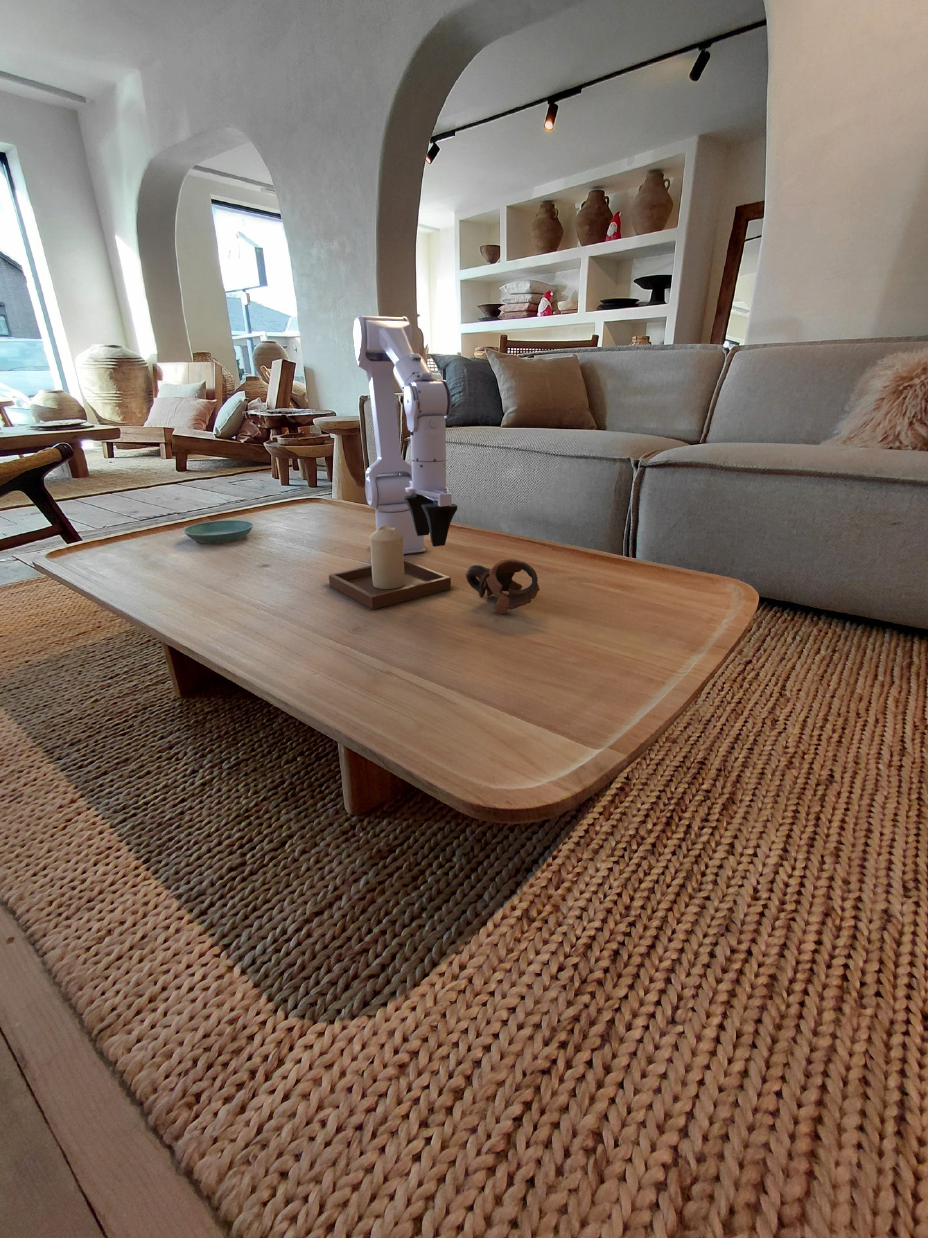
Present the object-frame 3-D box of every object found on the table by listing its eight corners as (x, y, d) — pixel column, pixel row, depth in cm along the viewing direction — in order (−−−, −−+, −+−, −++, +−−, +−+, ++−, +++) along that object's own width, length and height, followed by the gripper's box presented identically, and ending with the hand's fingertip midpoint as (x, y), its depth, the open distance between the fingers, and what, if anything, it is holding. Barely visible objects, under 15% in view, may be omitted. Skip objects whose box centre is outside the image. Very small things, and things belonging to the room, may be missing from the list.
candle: (373, 579, 102) (370, 524, 98) (405, 578, 103) (402, 523, 99) (371, 590, 97) (367, 531, 93) (404, 589, 97) (402, 531, 94)
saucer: (268, 533, 135) (266, 521, 134) (226, 549, 122) (224, 537, 121) (216, 528, 140) (214, 517, 139) (170, 543, 127) (167, 532, 126)
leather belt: (536, 596, 97) (548, 563, 91) (523, 638, 91) (535, 606, 85) (469, 574, 98) (476, 540, 92) (452, 615, 92) (458, 581, 86)
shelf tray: (403, 568, 110) (403, 558, 109) (451, 588, 99) (450, 577, 99) (329, 586, 101) (328, 574, 100) (372, 609, 90) (371, 597, 90)
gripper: (392, 456, 100) (395, 533, 105) (421, 466, 87) (423, 553, 93) (430, 453, 102) (431, 529, 107) (463, 464, 90) (463, 548, 95)
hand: (430, 540), depth 100 cm, fingers open, 7 cm apart
